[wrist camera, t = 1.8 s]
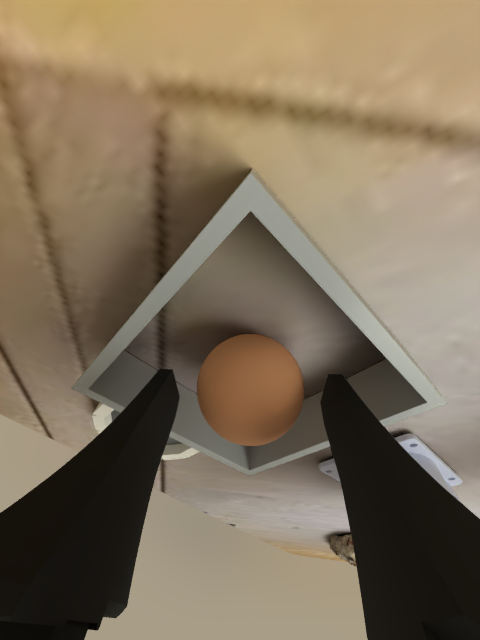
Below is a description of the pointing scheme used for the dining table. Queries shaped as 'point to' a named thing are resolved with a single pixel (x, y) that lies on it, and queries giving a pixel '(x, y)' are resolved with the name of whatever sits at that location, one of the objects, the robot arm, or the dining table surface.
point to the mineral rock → (343, 548)
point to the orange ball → (250, 390)
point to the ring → (173, 447)
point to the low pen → (308, 430)
